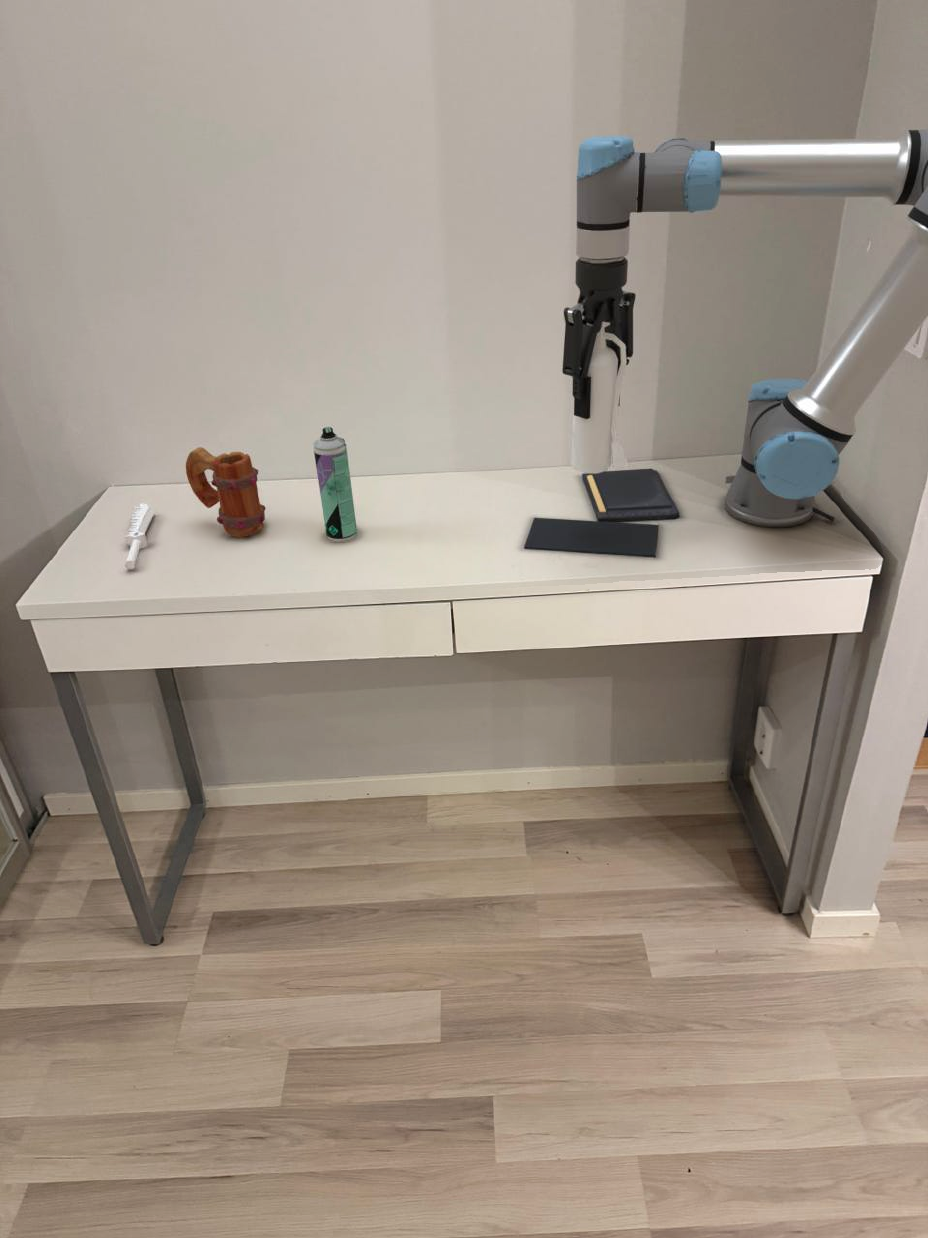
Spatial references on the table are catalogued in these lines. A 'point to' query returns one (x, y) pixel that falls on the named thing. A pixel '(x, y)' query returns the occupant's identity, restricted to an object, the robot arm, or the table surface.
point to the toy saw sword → (138, 532)
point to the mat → (593, 537)
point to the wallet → (629, 495)
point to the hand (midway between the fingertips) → (596, 410)
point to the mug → (228, 489)
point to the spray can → (335, 487)
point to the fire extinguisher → (600, 411)
